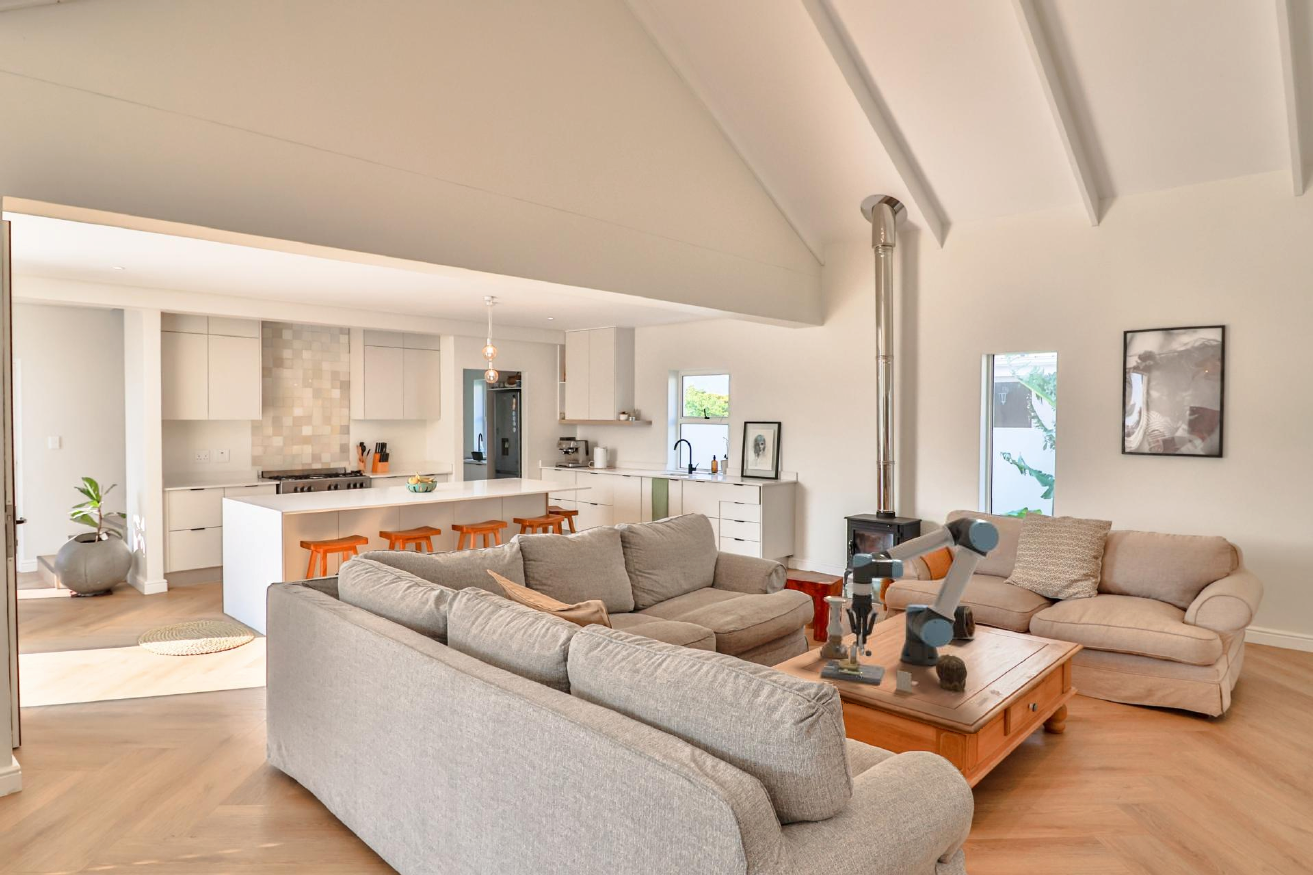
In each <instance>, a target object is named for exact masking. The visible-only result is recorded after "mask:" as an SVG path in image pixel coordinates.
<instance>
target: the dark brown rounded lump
mask: <svg viewBox="0 0 1313 875" xmlns="http://www.w3.org/2000/svg"><path fill="white" fill-rule="evenodd" d="M935 672H936V675H937V676H938V679H939V685H940V687H941V689H944V690H946V691H949V692H955V693H956V692H958V693H961V692H963V691H964V690H965V688H966V685H967V684H966V683H967V682H966V681H967V676H968V670H967V666H966V663H965V662H964V660H963V659H962V658H960V657H958V656H956V655H954V654H953V655H950V654H949V653H948V654H943V655H940V656H939V658H938V660H937V662H936V664H935Z"/></svg>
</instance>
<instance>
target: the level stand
mask: <svg viewBox="0 0 1313 875" xmlns="http://www.w3.org/2000/svg"><path fill="white" fill-rule="evenodd" d="M820 672H821V676H820V677H821V678H828V679H835V680H836V679H837V680H844V681H849V682H856V683H857V682H858V683H866V684H874V685H879V686H880V685H881V683H882V680H883V677H884V674H885V666H881V665H880V666H878V665H872V664H871V665H870V664H865V663H864V664H863V663H860V670H859V671H848V670H847V669H844V670H841V669H839V660H831V659H829V660H827V662H826V663H825V665H824V667H823V668H822V670H821V671H820Z"/></svg>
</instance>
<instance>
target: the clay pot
mask: <svg viewBox="0 0 1313 875" xmlns="http://www.w3.org/2000/svg"><path fill="white" fill-rule="evenodd" d="M954 617H955V622H954V624H953V626H952V628H953V638H952V640H960V639H961V640H965V639H967V640H973V639H974V637H975V632H976V624H975V614H974V612H973V610H972V607H970V606H969V605H958V606H957V608H956V610H955V612H954Z"/></svg>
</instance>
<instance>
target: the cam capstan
mask: <svg viewBox="0 0 1313 875" xmlns="http://www.w3.org/2000/svg"><path fill="white" fill-rule="evenodd" d="M847 648H848V647H847V645H846V646H845V645H844V646H843V647H842V649H841V653H842V654H844V653H845V651H846V649H847ZM858 648H859V643H857V642H856V641H853V642H852V645H850V648H849V649H850V652H849V653H850V655H849V659H842V658H841V659H839V660H838V661H839V669H841V670H844V669H847V670H848V671H859V670H860V664H861V662H860V661H859V660H858V658H857V656H858V654H859V656H861V657H863V656H864V654H865V656H866V657H871V656H872V655H873V654H872V651H871V650H869V649H867V650H866V648H865V647H864V648H861V650H860V652H858ZM833 650H834V652H835V653H838V652H839V651H840V649H839V647H834V649H833Z"/></svg>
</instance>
